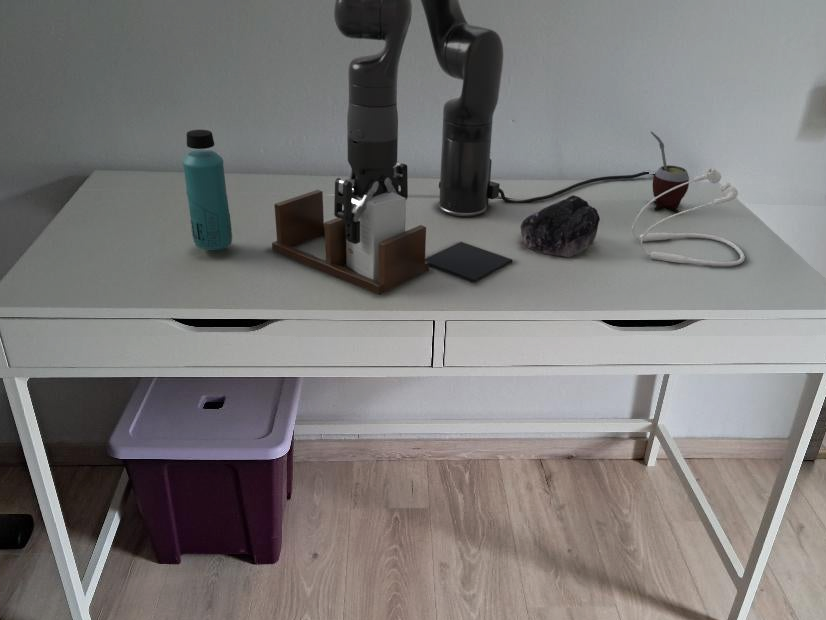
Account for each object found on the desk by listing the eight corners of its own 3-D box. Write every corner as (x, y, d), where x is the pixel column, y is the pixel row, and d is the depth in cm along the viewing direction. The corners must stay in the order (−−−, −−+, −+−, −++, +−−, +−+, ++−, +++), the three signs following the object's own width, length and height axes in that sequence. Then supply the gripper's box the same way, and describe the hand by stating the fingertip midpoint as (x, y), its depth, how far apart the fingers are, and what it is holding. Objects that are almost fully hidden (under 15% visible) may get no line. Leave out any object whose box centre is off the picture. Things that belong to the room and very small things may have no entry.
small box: (405, 274, 130) (407, 197, 123) (373, 284, 126) (373, 205, 119) (376, 257, 135) (377, 182, 128) (345, 266, 131) (343, 189, 124)
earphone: (620, 214, 147) (707, 155, 141) (663, 278, 154) (747, 224, 149) (638, 243, 135) (733, 180, 130) (684, 311, 143) (776, 254, 137)
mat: (460, 244, 141) (461, 241, 141) (512, 262, 136) (512, 259, 135) (421, 263, 134) (421, 260, 133) (474, 283, 128) (474, 279, 128)
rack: (324, 230, 143) (322, 187, 139) (429, 270, 131) (431, 224, 127) (272, 250, 135) (268, 205, 131) (379, 295, 123) (379, 247, 119)
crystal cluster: (507, 236, 147) (510, 186, 141) (572, 223, 151) (577, 174, 145) (540, 271, 137) (545, 219, 131) (608, 256, 141) (616, 205, 135)
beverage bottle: (241, 247, 136) (229, 128, 125) (219, 262, 130) (205, 139, 119) (208, 240, 137) (193, 123, 126) (185, 255, 132) (168, 133, 121)
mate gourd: (690, 210, 162) (706, 136, 154) (663, 217, 158) (678, 141, 150) (663, 199, 167) (677, 126, 159) (636, 205, 163) (649, 131, 155)
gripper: (386, 119, 125) (384, 217, 134) (320, 135, 115) (323, 240, 124) (422, 129, 121) (418, 230, 130) (357, 147, 112) (358, 254, 120)
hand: (372, 235), depth 127 cm, fingers open, 8 cm apart
